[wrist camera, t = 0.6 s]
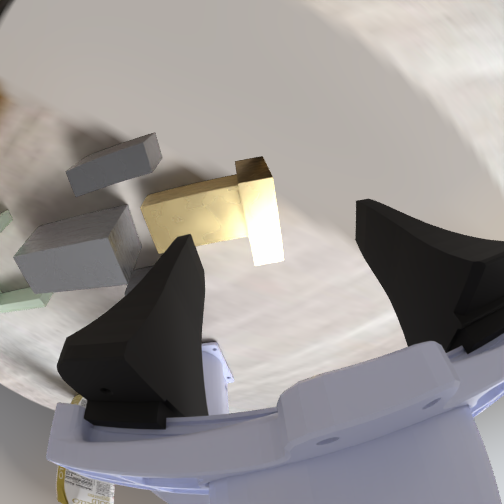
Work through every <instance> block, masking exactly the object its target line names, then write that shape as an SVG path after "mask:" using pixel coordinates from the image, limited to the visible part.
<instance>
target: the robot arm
mask: <svg viewBox="0 0 504 504" xmlns="http://www.w3.org/2000/svg"><path fill="white" fill-rule="evenodd" d="M355 240H356V242H357V244H358V246H359V249H360V251H361V253H362V255H363V257H364V259H365V260H366V262H367V263H368V265H369V267H370V268H371V270H372V271H373V273H374V274H375V276H376V278H377V279H378V281H379V282H380V284H381V285H382V287H383V289H384V290H385V292H386V294H387V295H388V297H389V299H390V301H391V303H392V306H393V308H394V310H395V312H396V315H397V317H398V320H399V322H400V325H401V328H402V330H403V333H404V336H405V339H406V342H407V345H408V347H406V348H404V349H401V350H398V351H395V352H392V353H390V354H387V355H384V356H381V357H378V358H375V359H371V360H368V361H365V362H362V363H358V364H355V365H352V366H348V367H345V368H341V369H337V370H333V371H330V372H326V373H322V374H319V375H316V376H313V377H310V378H307V379H305V380H302V381H299V382H297V383H296V384H294V385H293V386H291V387H290V388H288V389H287V390H285V391H284V392H283V393H282V394H281V395H280V398H279V400H278V403H277V407H272V408H266V409H260V410H253V411H246V412H238V413H230V414H229V407H228V390H227V383H232V382H234V378H233V376H232V374H231V371H230V369H229V367H228V365H227V363H226V361H225V359H224V357H223V354H222V352H221V350H220V348H219V346H218V344H217V343H216V342H210V343H203V344H202V343H201V341H202V323H203V311H204V299H205V277H204V269H203V266H202V264H201V261H200V258H199V255H198V253H197V250H196V247H195V244H194V241H193V238H192V236H191V234H187V235H183V236H179V237H177V238H176V239H175V240H174V241H173V242H172V243H171V245H170V246H169V247H168V249H167V250H166V251H165V252H164V254H163V255H162V256H161V257H160V259H159V260H158V261H157V262H156V264H155V265H154V266H153V267H152V268H151V270H150V271H149V272H148V273H147V274H146V275H145V277H144V278H143V279H142V280H141V281H140V282H139V283H138V284H137V285H136V286H135V287H134V288H133V289H132V290H131V291H130V292H129V293H128V294H127V295H126V296H125V297H124V298H123V299H121V300H120V301H119V302H118V303H117V304H116V305H114V306H113V307H112V308H111V309H110V310H108V311H107V312H106V313H104V314H103V315H102V316H100V317H99V318H98V319H96V320H95V321H93V322H92V323H90V324H89V325H87V326H86V327H84V328H82V329H81V330H79V331H77V332H76V333H74V334H72V335H71V336H69V337H67V338H66V341H65V343H64V346H63V349H62V352H61V354H60V357H59V360H58V363H57V370H58V373H59V374H60V376H61V377H62V379H63V380H64V381H65V382H66V383H67V384H68V385H69V386H71V387H72V388H73V389H74V390H75V391H76V392H78V393H79V394H80V395H81V396H82V397H84V398H85V399H86V400H87V404H86V408H85V407H83V406H81V405H77V404H68V403H60V402H59V403H57V406H56V410H55V414H54V419H53V423H52V427H51V432H50V437H49V442H48V448H47V454H46V458H47V460H49V461H51V462H53V463H55V464H57V465H59V466H61V467H64V468H66V469H68V470H70V471H73V472H75V473H78V474H80V475H83V476H85V477H88V478H91V479H95V480H99V481H104V482H108V483H113V484H118V485H123V486H128V487H134V488H140V489H147V490H151V491H152V492H153V493H154V494H156V495H157V496H158V497H160V498H161V499H162V500H164V501H165V502H166V503H168V504H502V503H501V499H500V495H499V491H498V487H497V484H496V480H495V476H494V473H493V470H492V467H491V464H490V461H489V458H488V455H487V452H486V449H485V446H484V443H483V441H482V438H481V436H480V433H479V430H478V428H477V425H476V423H475V421H474V418H473V417H475V416H476V415H478V414H479V413H481V412H482V411H484V410H485V409H486V408H487V407H489V406H490V405H492V404H493V403H494V402H496V401H497V400H498V399H500V398H501V397H502V396H503V395H504V241H496V240H495V241H494V240H486V239H481V238H476V237H470V236H467V235H463V234H459V233H455V232H451V231H448V230H445V229H442V228H439V227H436V226H433V225H430V224H428V223H425V222H422V221H420V220H418V219H415V218H413V217H411V216H408V215H406V214H404V213H402V212H400V211H397V210H395V209H393V208H391V207H389V206H386V205H384V204H382V203H379V202H377V201H374V200H371V199H364V200H358V201H356V239H355Z"/></svg>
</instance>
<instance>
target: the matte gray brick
mask: <svg viewBox="0 0 504 504" xmlns="http://www.w3.org/2000/svg"><path fill="white" fill-rule="evenodd" d="M141 248H142V245H141V242H140V240H139V237H138V234H137V231H136V228H135V225H134V222H133V219H132V216H131V213H130V210H129V207H128V205H124V206H119V207H114V208H110V209H105V210H101V211H97V212H92V213H88V214H84V215H80V216H76V217H72V218H68V219H64V220H60V221H56V222H53V223H49V224H45V225H42V226H39V227H38V228H37V229H36V230H35V231H34V232H33V234H32V235H31V236H30V237H29V238H28V239H27V241H26V242H25V243H24V244H23V245H22V247H21V248H20V249H19V250H18V252H17V253H16V254H15V255H14V257H13V258H14V260H15V261H16V263H17V265H18V267H19V269H20V270H21V272H22V274H23V276H24V277H25V279H26V281H27V282H28V284H29V286H30V287H31V289H32V291H33V292H34V294H41V293H51V292H61V291H71V290H81V289H90V288H99V287H109V286H118V285H126V284H128V283H129V280H130V277H131V274H132V272H133V269H134V266H135V263H136V261H137V258H138V255H139V253H140V250H141Z"/></svg>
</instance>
